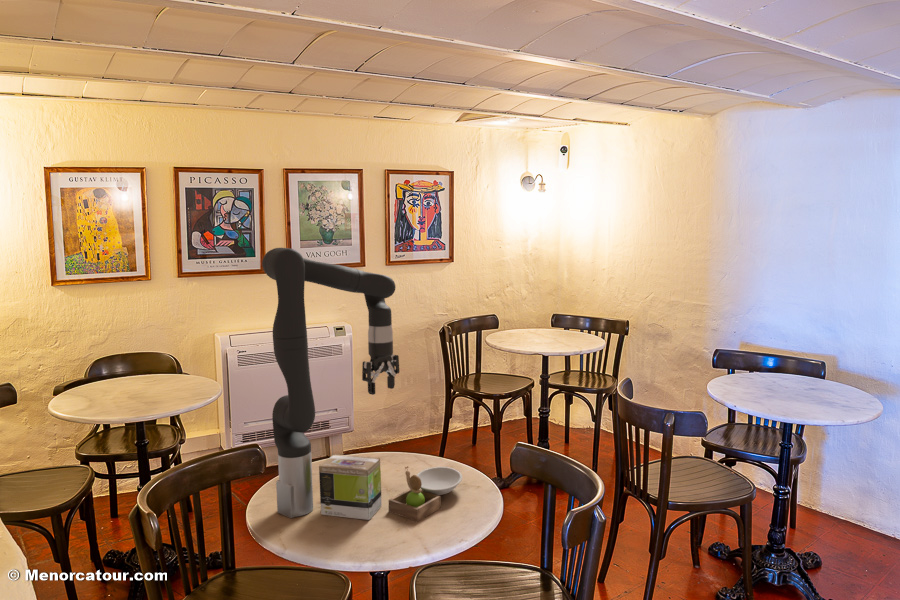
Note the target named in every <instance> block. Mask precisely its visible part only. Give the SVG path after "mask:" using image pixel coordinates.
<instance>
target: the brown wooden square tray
mask: <svg viewBox="0 0 900 600" xmlns="http://www.w3.org/2000/svg"><path fill="white" fill-rule="evenodd" d="M420 490H421V493H422V494H423V496H424V498H425V503H424V504H423V505H421V506H419V507H417V508H416V507H413V506H410V505H407V504H406V498H407V495H408V494H409V493H410V492H412V490H411V489H410V488H409V489H406V490H404V491H402V492H401V493H399V494H397V495H395V496H393V497H391V498H390V499H388V512H389V513H391V514H395V515H397V516H400V517H403V518H406V519H408V520H412V521H415V522H419V521H422V520H423V519H424V518H427V517H428V516H430V515H431V514H433V513H435V512H436V511H438V510H440V509H441V507H442V500H441V498H442V497H441V496H442V495H435V494H432V493H429V492H426V491H423V490H422V489H420Z"/></svg>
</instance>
